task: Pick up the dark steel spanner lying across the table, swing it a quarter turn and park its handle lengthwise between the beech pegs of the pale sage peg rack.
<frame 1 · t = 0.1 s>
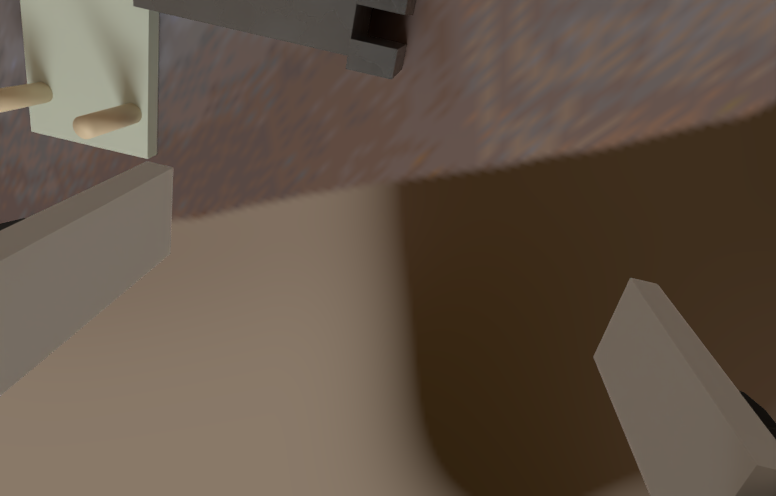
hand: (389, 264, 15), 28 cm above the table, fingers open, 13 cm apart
peg rack: (97, 36, 41), on the table
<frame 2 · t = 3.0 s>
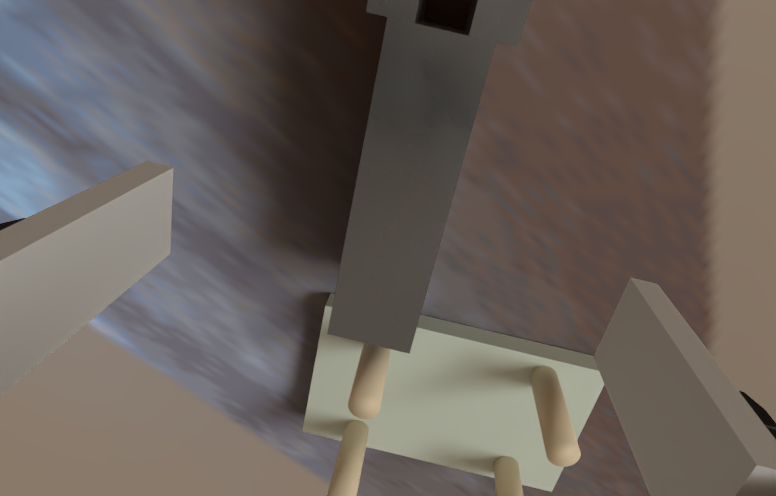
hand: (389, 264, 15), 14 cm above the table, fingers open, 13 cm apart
peg rack: (445, 388, 34), on the table
spanner: (411, 164, 28), on the table
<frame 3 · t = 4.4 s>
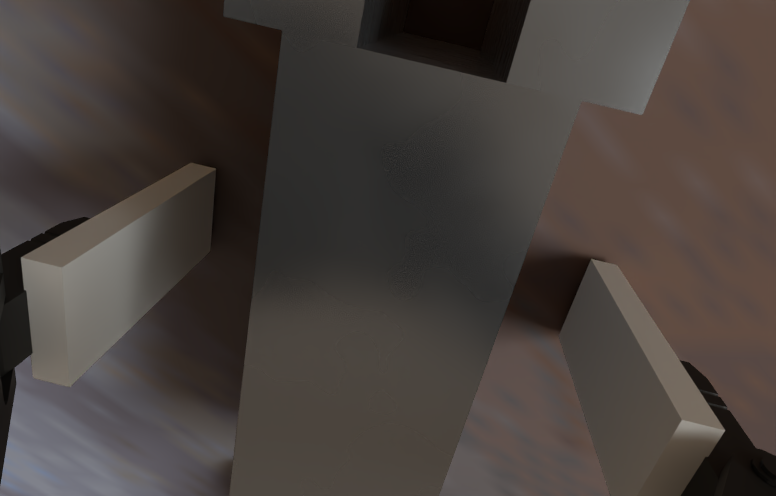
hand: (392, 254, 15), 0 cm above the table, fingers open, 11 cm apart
spanner: (385, 279, 16), on the table
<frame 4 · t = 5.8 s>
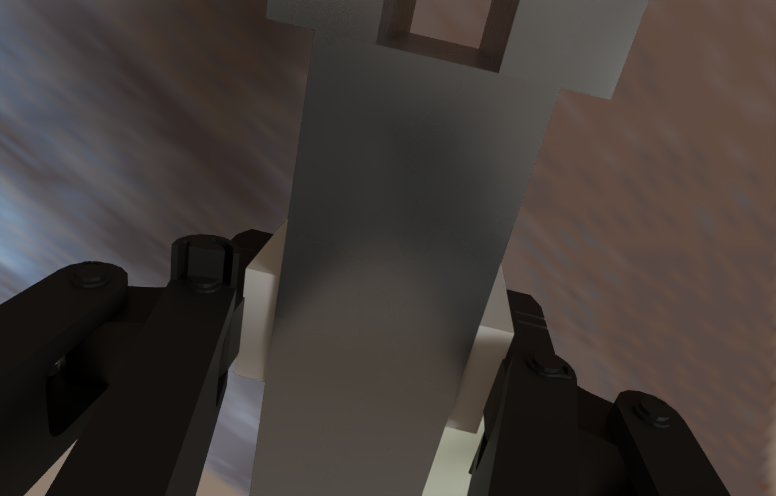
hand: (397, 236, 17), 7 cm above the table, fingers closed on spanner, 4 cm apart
peg rack: (461, 456, 29), on the table
spanner: (391, 259, 18), point 7 cm above the table, touching gripper
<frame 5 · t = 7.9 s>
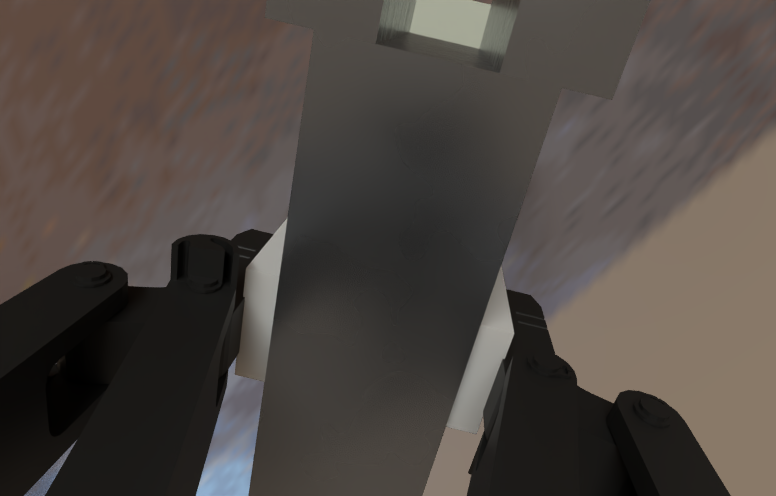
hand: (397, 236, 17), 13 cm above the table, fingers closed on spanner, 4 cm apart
peg rack: (415, 163, 29), on the table
spanner: (391, 260, 17), point 13 cm above the table, touching gripper
when the fingers open (2 cm above the table, at t = 9.9 s): spanner stays where it is, resting on peg rack.
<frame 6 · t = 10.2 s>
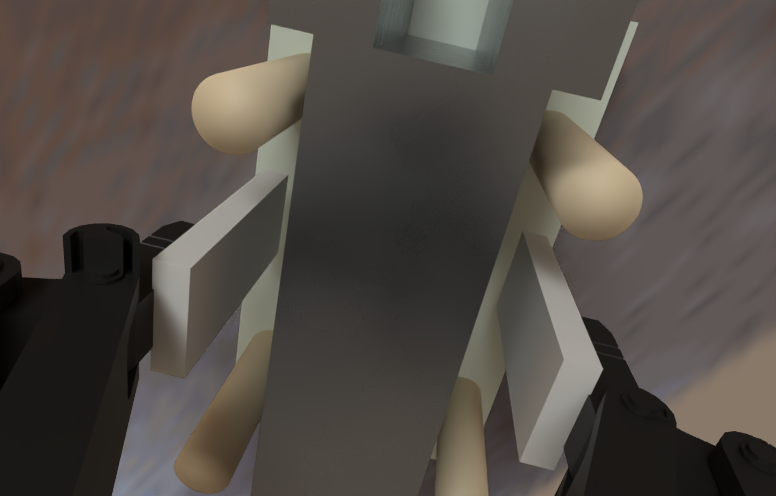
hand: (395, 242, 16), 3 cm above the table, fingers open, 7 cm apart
peg rack: (397, 238, 19), on the table
spanner: (391, 257, 18), point 1 cm above the table, touching peg rack
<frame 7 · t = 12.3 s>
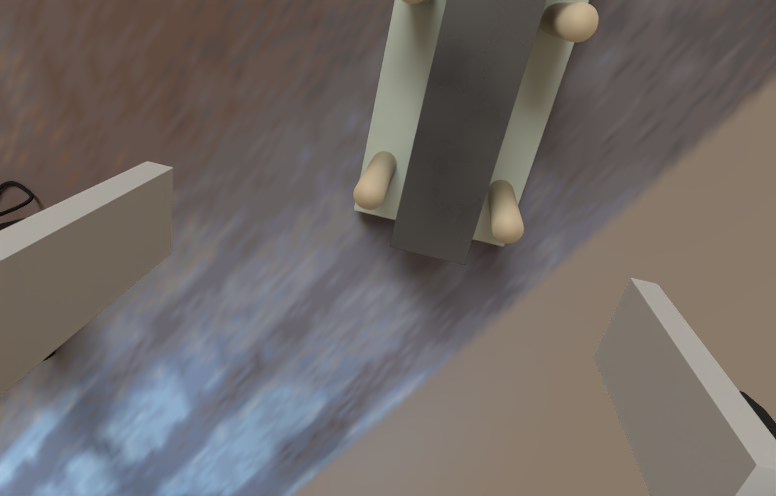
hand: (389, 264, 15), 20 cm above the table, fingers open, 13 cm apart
multimeter: (9, 259, 42), on the table
peg rack: (463, 93, 31), on the table
spanner: (462, 98, 30), point 1 cm above the table, touching peg rack
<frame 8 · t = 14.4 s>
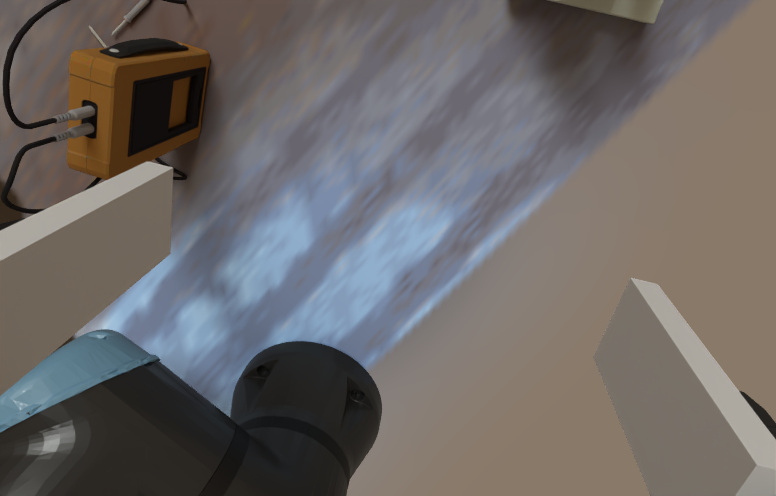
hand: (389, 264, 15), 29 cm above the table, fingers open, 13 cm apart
multimeter: (149, 77, 43), on the table
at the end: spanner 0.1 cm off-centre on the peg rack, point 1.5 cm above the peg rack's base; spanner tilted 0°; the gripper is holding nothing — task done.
